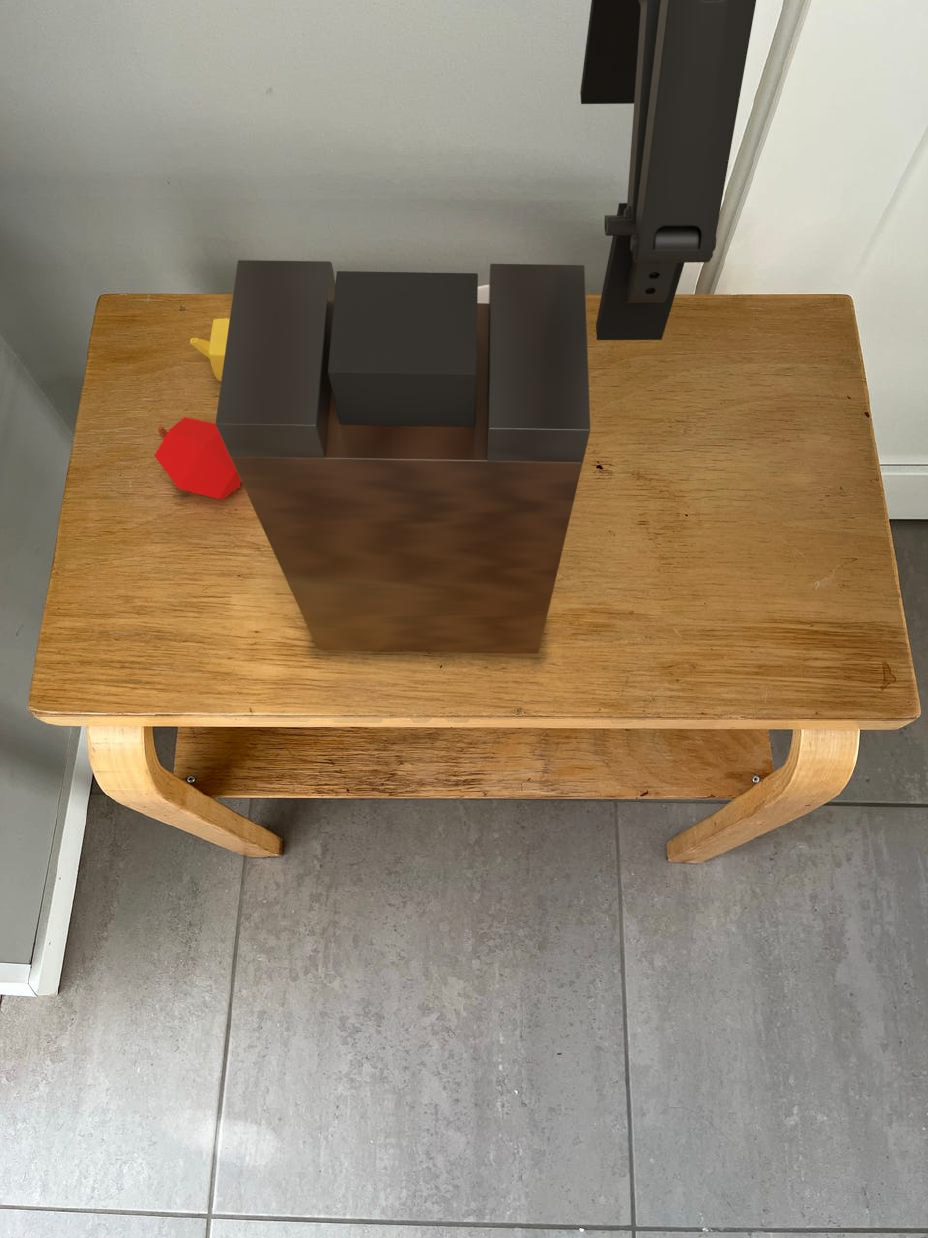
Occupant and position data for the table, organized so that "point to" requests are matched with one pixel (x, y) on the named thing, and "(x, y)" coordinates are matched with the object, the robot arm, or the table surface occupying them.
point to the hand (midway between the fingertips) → (618, 208)
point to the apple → (197, 459)
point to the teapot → (215, 345)
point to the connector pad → (404, 348)
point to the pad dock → (412, 466)
